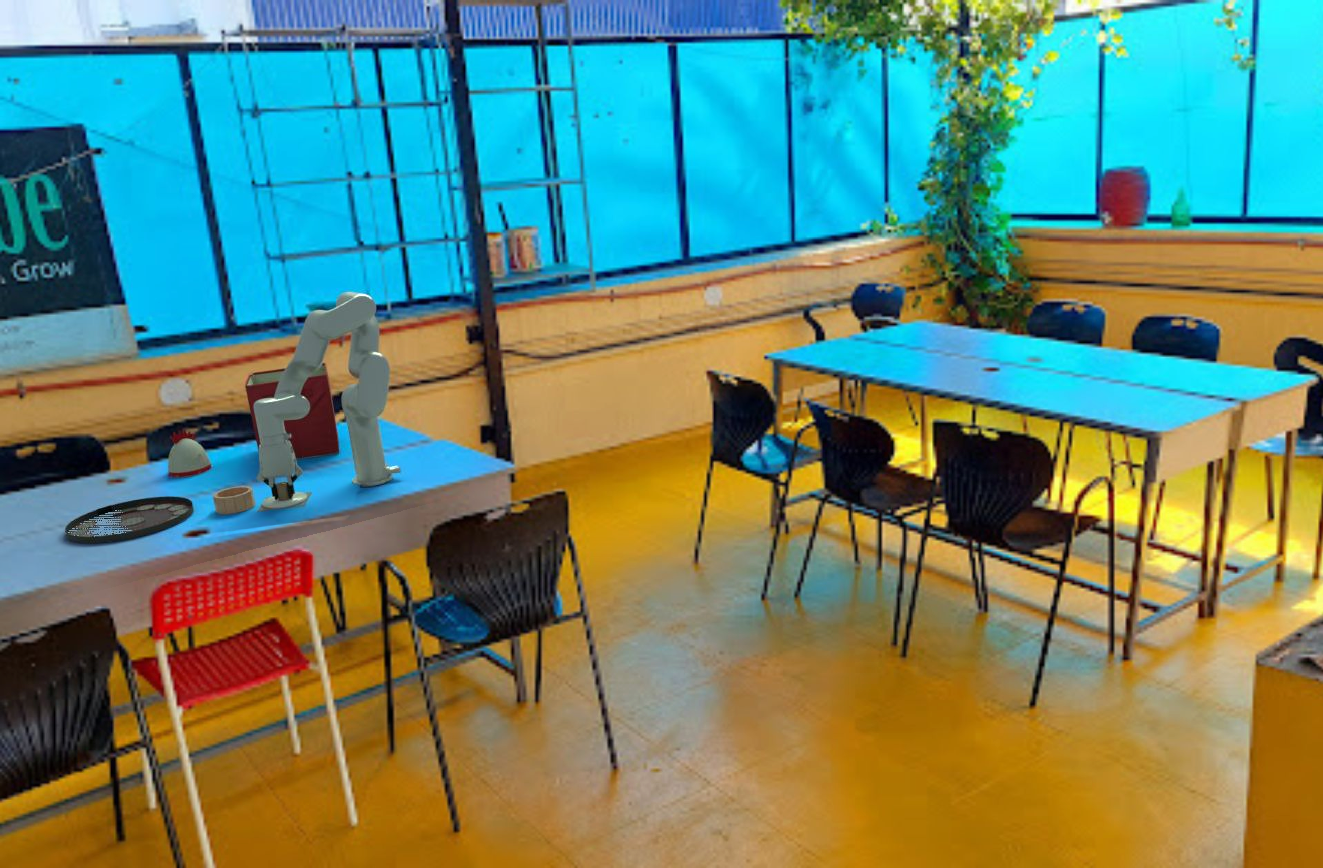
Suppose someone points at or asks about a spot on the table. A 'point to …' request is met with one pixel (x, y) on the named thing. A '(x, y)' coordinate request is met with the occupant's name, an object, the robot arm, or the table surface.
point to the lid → (284, 498)
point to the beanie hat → (187, 457)
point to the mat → (286, 507)
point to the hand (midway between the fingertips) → (284, 497)
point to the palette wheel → (132, 518)
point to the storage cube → (310, 431)
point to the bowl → (234, 500)
